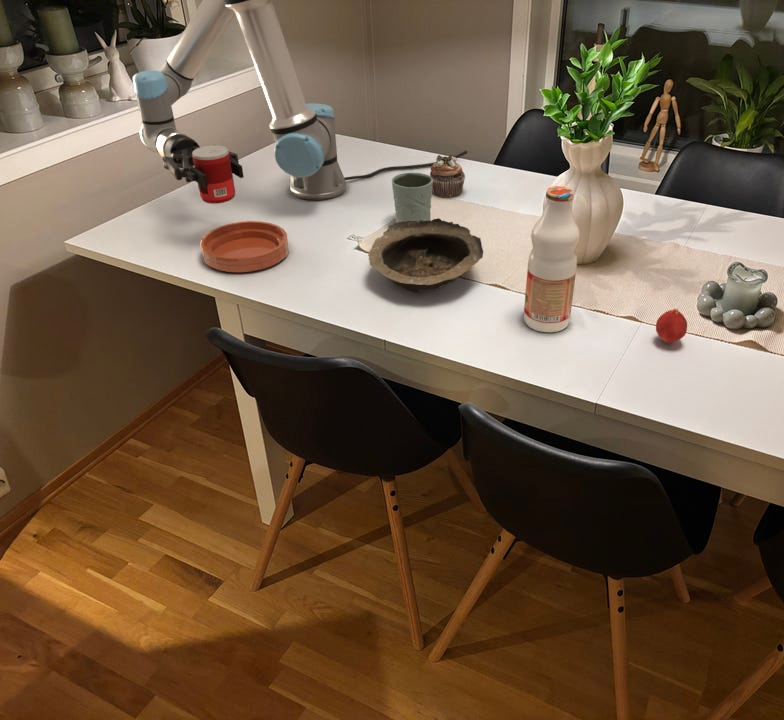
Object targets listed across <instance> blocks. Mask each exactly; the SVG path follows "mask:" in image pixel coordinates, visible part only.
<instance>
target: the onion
mask: <svg viewBox="0 0 784 720" xmlns="http://www.w3.org/2000/svg"><path fill="white" fill-rule="evenodd" d="M655 332H656V333H657V336H658V337H659V338H660V339H661V340H662V341H664V343H665V344H667V345H668V344H669V345H670V344H673V343H675V342H678V341H680V340H681V339H682V338H684V337H685V336H686V334H687V332H688V321H687V318H686V317H685V316H684V314H683V313H682V312H680V311H679V308H677V307H674V308H673V309H669V310H667V311H665V312H663V313H662V314H661V315H659V317H658V318H657V320H656V324H655Z"/></svg>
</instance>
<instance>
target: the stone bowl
mask: <svg viewBox="0 0 784 720" xmlns="http://www.w3.org/2000/svg"><path fill="white" fill-rule="evenodd" d="M483 255H484V249H483V245H482V240H481V237H479V236H476V235H473V234H472V233H471V230H470V229H469V227H466V226H463V225H462V226H461V225H460V224H459V223H454V222H453V221H449V222H448V221H445V220H442V219H441V218H439V217H438V218H432V220H431V219H430V220H428V221H422V220H420V221H419V222H417V221H407V222H405V221H403V222H398V223H396V222H395V223H393V224H390V225H388V226H387V229H386V230H385V231H383V234H382V235H381V236H380V237H377V238H375V240H374V241H373V243H372V245H371V248H370V249H369V251H368V255H367V257H368V263H369V265H370V267H372V268H375V270H377V272H379V273H380V274H382V275H383V276H384V277H385V278H388V279H389V280H390V281H391V282H392V283H393V284H394V285H395V286H396V287H399V288H401V289H403V290H405V291H408V292H411V293H419V292H430V291H435V290H438V289H440V288H443V287H445V286H447V285H449V284H451V283H453V282H455V281H456V280H458V279H459V278H460V277H462V275H463V274H464V273H466V272H468V271H470V270H471V269H472V268H473V267H474V266H475V265H476V264H477V263H479V262H480V260H482V259H483V257H484V256H483Z"/></svg>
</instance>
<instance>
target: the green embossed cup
mask: <svg viewBox="0 0 784 720" xmlns="http://www.w3.org/2000/svg"><path fill="white" fill-rule="evenodd" d="M432 185H433V179H432V177H430V174H426V173H422V172H404V173H399V174H397V175H395V176H394V177H392V179H391V186H392V194H393V200H394V211H395V213H394V214H395V223H398V222H403V221H405V222H407V221H417V222H419V221H420V220H422V221H428V220H430V221H431V216H432V214H431V209H432V195H433V187H432Z"/></svg>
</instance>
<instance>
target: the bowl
mask: <svg viewBox="0 0 784 720" xmlns="http://www.w3.org/2000/svg"><path fill="white" fill-rule="evenodd" d="M200 249H201V255H202V259H203V261H204V263H205V264H206V265H208V266H209V267H210V268H213V269H215V270H217V271H222V272H227V273H248V272H256V271H259V270H260V271H261V270H264V269H267V268H270V267H273V266H275V265H277V264H278V263H280V262H281V261H283V260H284V259H285V258H286V257H287V256H288V254H289V252H290V250H289V249H290V248H289V238H288V233H287V232H286V230H285V229H284V228H283V227H281V226H279V225H277V224H274V223H271V222H267V221H258V220H257V221H255V220H247V221H245V220H244V221H238V222H233V223H227V224H223V225H220V226H218V227H215V228H214V229H212V230H210V231H208V232H207V233H206V234H205V235H204V236H203V237H202V238H201V240H200Z"/></svg>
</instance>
